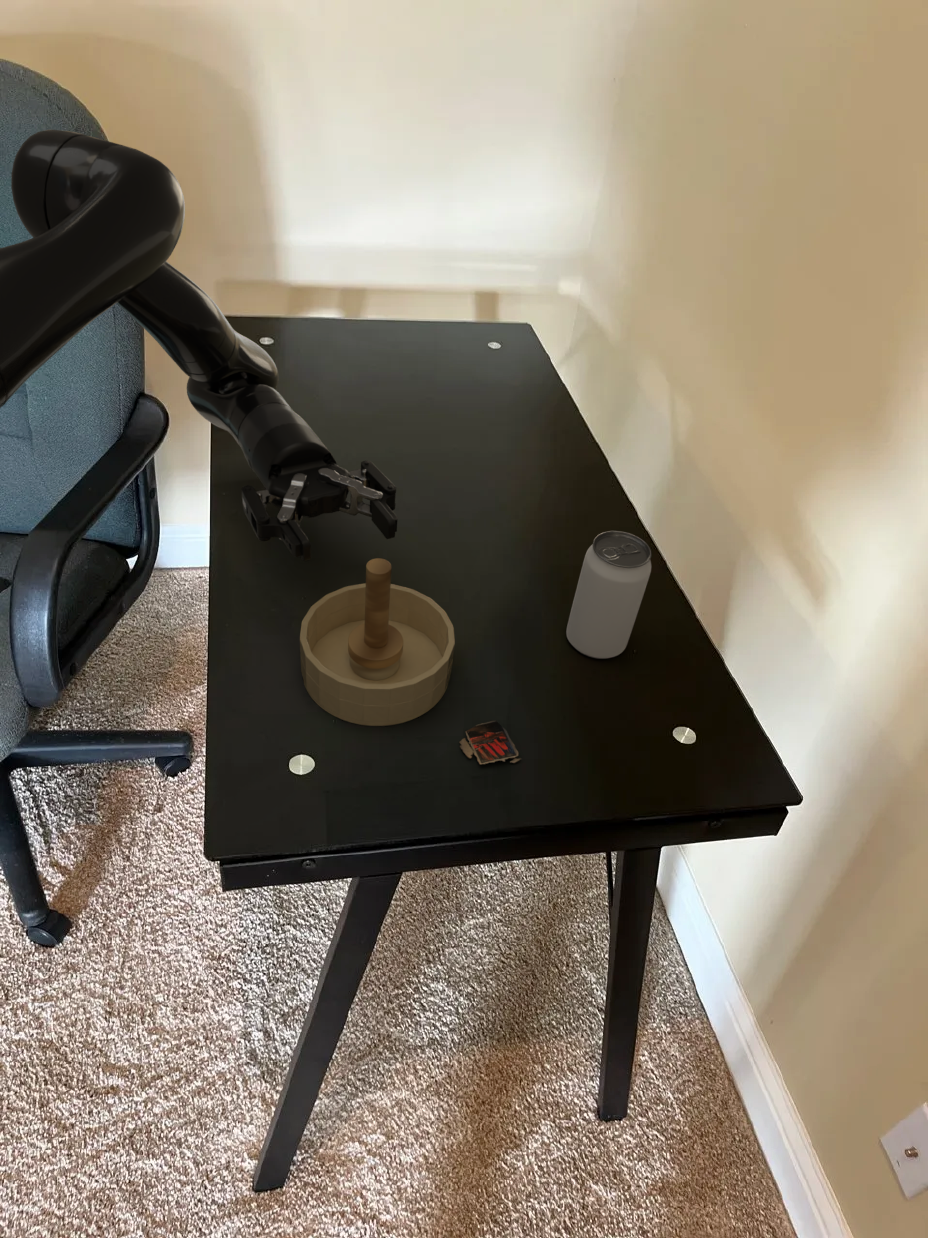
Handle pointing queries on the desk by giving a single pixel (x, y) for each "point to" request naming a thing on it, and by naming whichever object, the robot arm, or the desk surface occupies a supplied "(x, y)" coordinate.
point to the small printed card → (489, 743)
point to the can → (609, 594)
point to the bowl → (376, 699)
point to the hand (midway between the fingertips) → (350, 541)
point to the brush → (376, 628)
